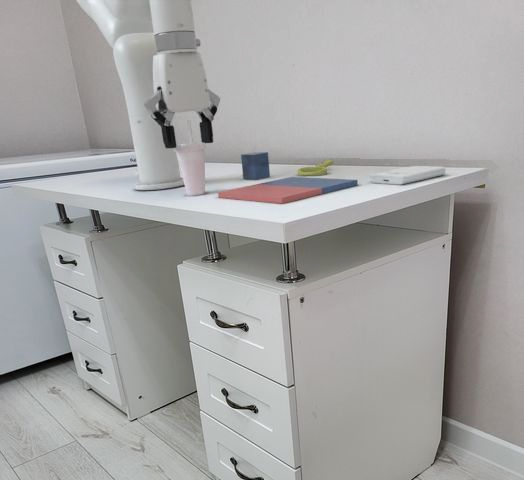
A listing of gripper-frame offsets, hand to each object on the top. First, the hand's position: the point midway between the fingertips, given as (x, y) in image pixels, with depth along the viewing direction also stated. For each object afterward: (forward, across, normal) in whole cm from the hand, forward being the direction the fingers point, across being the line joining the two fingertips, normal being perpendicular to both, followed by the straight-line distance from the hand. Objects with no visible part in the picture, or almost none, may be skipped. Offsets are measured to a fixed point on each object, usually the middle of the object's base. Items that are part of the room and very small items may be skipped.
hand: (189, 145), depth 107 cm
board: (+10, -9, +18) cm, 22 cm away
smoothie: (+10, 0, 0) cm, 10 cm away
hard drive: (+10, -28, +32) cm, 44 cm away
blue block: (+9, -21, -5) cm, 24 cm away
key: (+10, -32, +5) cm, 34 cm away
